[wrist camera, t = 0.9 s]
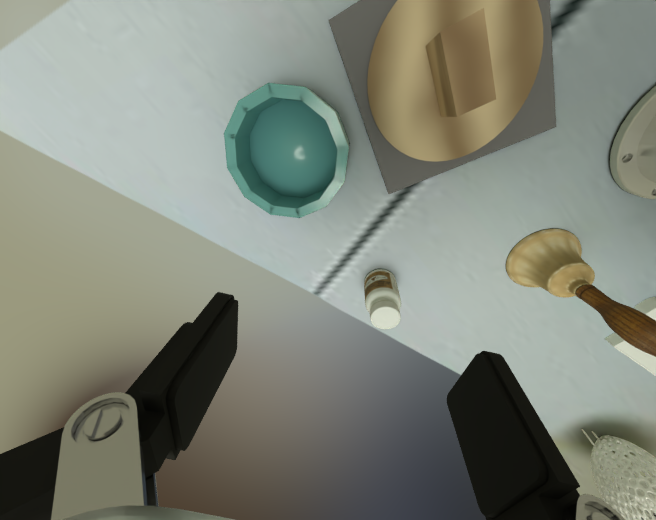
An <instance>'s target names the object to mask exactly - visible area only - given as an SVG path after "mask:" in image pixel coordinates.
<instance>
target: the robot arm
mask: <svg viewBox="0 0 656 520" xmlns="http://www.w3.org/2000/svg"><path fill="white" fill-rule="evenodd" d="M610 167H611V174H612V176H613V178H614V180H615V182H616V183H617V184H618V185H619V186H620V187H621V188H622V189H623V190H625V191H627V192H628V193H630V194H634V195H637V196H640V197H644V198H649V199H656V86H655V87H654V88H652V89H651V90H650V91H649V92H648V93H647V94H646V95H645V96H644V97H643V98H642V99H641V100H640V101H639V102H638V103H637V105H636V106H635V107H634V108H633V109H632V110H631V112H630V113H629V115H628V116H627V118H626V119H625V120H624V122H623V123H622V125H621V127H620V129H619V131H618V133H617V135H616V137H615V139H614V143H613V146H612V149H611V156H610ZM237 325H238V301H237V300H234V296H233V295H229V294H225V293H220V292H218V293H216V294H215V296H214V297H213V298H212V299H211V301H210V302H209V303H208V305H207V306H206V307H205V308H204V309H203V311H202V312H201V313H200V314H199V316H198V317H197V318H196V320H195V321H194V322H193V323H190V322H187V323H185V324H183V325H182V326H181V327H180V328H179V330H178V331H177V332H176V333H175V334H174V336H173V337H172V338H171V339H170V340H169V342H168V343H167V344H166V345H165V346H164V348H163V349H162V350H161V351H160V352H159V353H158V355H157V356H156V357H155V358H154V359H153V361H152V362H151V363H150V364H149V365H148V367H147V368H146V369H145V370H144V371H143V373H142V374H141V375H140V376H139V377H138V379H137V380H136V381H135V382H134V383H133V385H132V386H131V387H130V388H129V389H128V391H127V392H126V393H110V394H105V395H101V396H99V397H97V398H95V399H92V400H91V401H89V402H88V403H86V404H84V405H83V406H82V407H80V408H79V409H78V410H77V411H76V412H75V413H74V414H73V415H72V416H71V417H70V419H69V420H68V422H67V423H66V425H65V427H64V428H61V429H59V430H57V431H54V432H52V433H49V434H47V435H45V436H42V437H40V438H37V439H35V440H33V441H30V442H28V443H26V444H23V445H21V446H18V447H16V448H14V449H11V450H9V451H7V452H4V453H2V454H0V520H234V519H229V518H223V517H218V516H212V515H208V514H202V513H197V512H191V511H186V510H181V509H172V508H165V507H159V506H158V497H157V487H156V478H155V473H156V472H157V471H159V469H160V467H161V466H162V464H163V462H164V460H165V459H166V458H167V459H172V460H176V458H177V456H178V454H179V452H180V450H183V451H185V450H186V449H187V447H188V446H189V444H190V442H191V440H192V438H193V436H194V435H195V433H196V431H197V429H198V427H199V425H200V423H201V421H202V419H203V417H204V415H205V413H206V411H207V409H208V407H209V405H210V403H211V401H212V399H213V397H214V396H215V393H216V392H217V389H218V388H219V386H220V384H221V382H222V380H223V378H224V376H225V374H226V372H227V370H228V368H229V366H230V364H231V362H232V360H233V359H234V356H235V354H236V350H237ZM447 405H448V408H449V411H450V414H451V418H452V421H453V424H454V427H455V431H456V434H457V437H458V440H459V444H460V447H461V450H462V453H463V457H464V460H465V463H466V466H467V470H468V473H469V476H470V480H471V483H472V486H473V490H474V493H475V496H476V499H477V503H478V505H479V508H480V511H481V512H482V514H484V515H485V517H486V520H625V519H624V518H623V516H622V515H621V514H619V513H618V512H617V511H616V510H615V509H614V508H613V507H612V506H610V505H609V504H607V503H606V502H604V501H603V500H602V499H600V498H598V497H595V496H593V495H589V494H583V495H581V496H580V495H579V493H578V491H577V490H576V489H577V488H578V487H580V485H579V483H578V482H577V480H576V478H575V477H574V475H573V473H572V472H571V470H570V468H569V467H568V465H567V463H566V462H565V460H564V458H563V457H562V455H561V453H560V452H559V450H558V448H557V447H556V445H555V443H554V442H553V440H552V438H551V436H550V435H549V433H548V431H547V430H546V428H545V426H544V425H543V423H542V421H541V420H540V418H539V416H538V415H537V413H536V411H535V410H534V408H533V406H532V405H531V403H530V401H529V400H528V398H527V396H526V395H525V393H524V391H523V390H522V388H521V386H520V384H519V383H518V381H517V379H516V378H515V376H514V374H513V373H512V371H511V369H510V368H509V366H508V364H507V363H506V361H505V359H504V358H503V357H502V355H500V354H496V353H492V352H487V351H482V352H481V353H480V354H477V355H476V356H475V357H474V358H473V360H472V361H471V363H470V364H469V365H468V367H467V368H466V370H465V371H464V372H463V374H462V375H461V377H460V378H459V379H458V381H457V382H456V384H455V385H454V386H453V388H452V389H451V390H450V392H449V393H448V395H447Z"/></svg>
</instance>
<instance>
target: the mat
mask: <svg viewBox="0 0 656 520" xmlns="http://www.w3.org/2000/svg"><path fill="white" fill-rule="evenodd" d="M396 1H397V0H360V1H358V2H357V3H355V4H354V5H352V6H350V7H349V8H347V9H346V10H344V11H343V12H341V13H339V14H338V15H336V16H335V17H333V18H331V19H330V20H329V23H330V26H331V29H332V31H333V34H334V37H335V40H336V43H337V46H338V49H339V52H340V55H341V58H342V60H343V63H344V66H345V69H346V72H347V75H348V78H349V81H350V84H351V86H352V89H353V92H354V95H355V98H356V101H357V104H358V107H359V110H360V113H361V115H362V118H363V121H364V124H365V127H366V130H367V133H368V136H369V139H370V142H371V144H372V147H373V150H374V153H375V156H376V159H377V162H378V165H379V168H380V171H381V173H382V176H383V179H384V182H385V185H386V188H387V191H388V194H391V193H393V192H396V191H398V190H401V189H403V188H405V187H408V186H410V185H413V184H415V183H418V182H420V181H423V180H425V179H428V178H430V177H433V176H435V175H438V174H440V173H443V172H445V171H448V170H450V169H453V168H455V167H458V166H460V165H463V164H465V163H467V162H470V161H472V160H475V159H477V158H480V157H482V156H485V155H487V154H490V153H492V152H495V151H497V150H500V149H502V148H505V147H507V146H510V145H512V144H515V143H517V142H520V141H522V140H525V139H527V138H530V137H532V136H534V135H537V134H539V133H542V132H544V131H547V130H549V129H552V128H554V127H556V115H555V95H554V76H553V56H552V36H551V16H550V0H537V1H538V4H539V8H540V11H541V15H542V22H543V49H542V57H541V61H540V65H539V70H538V73H537V76H536V79H535V81H534V84H533V86H532V88H531V91H530V93H529V95H528V97H527V99H526V100H525V102H524V104H523V105H522V107H521V109H520V110H519V111H518V113H517V114H516V116H515V117H514V118H513V120H512V121H511V122H510V123H509V124H508V125H507V126H506V128H505V129H504V130H503V131H502V132H500V133H499V134H498V135H497V136H496V137H495V138H494V139H492V140H491V141H490V142H489V143H487V144H486V145H484V146H483V147H481V148H479V149H478V150H476V151H474V152H472V153H470V154H468V155H465V156H462V157H460V158H457V159H452V160H448V161H438V162H434V161H424V160H418V159H415V158H412V157H409V156H407V155H406V154H404V153H402V152H400V151H399V150H397V149H396V148H395V147H393V146H392V145H391V144H390V143H389V142H388V141H387V140H386V139H385V137H384V136H383V135H382V133H381V132H380V130H379V128H378V127H377V125H376V123H375V120H374V118H373V115H372V112H371V108H370V105H369V98H368V86H367V79H368V68H369V62H370V57H371V53H372V50H373V46H374V43H375V40H376V37H377V35H378V33H379V30H380V28H381V26H382V24H383V22H384V20H385V18H386V17H387V15H388V13H389V12H390V10H391V9H392V7H393V6H394V4H395V3H396Z"/></svg>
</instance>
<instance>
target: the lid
mask: <svg viewBox="0 0 656 520" xmlns="http://www.w3.org/2000/svg"><path fill="white" fill-rule="evenodd" d="M542 49H543V22H542V15H541V11H540V8H539V4H538V1H537V0H397V1H396V3H395V4H394V6H393V7H392V9H391V10H390V12H389V13H388V15H387V17H386V18H385V20H384V22H383V24H382V26H381V28H380V30H379V33H378V35H377V37H376V40H375V43H374V46H373V50H372V53H371V57H370V62H369V68H368V79H367V86H368V98H369V105H370V108H371V112H372V115H373V118H374V120H375V123H376V125H377V127H378V128H379V130H380V132H381V133H382V135H383V136H384V137H385V139H386V140H387V141H388V142H389V143H390V144H391V145H392V146H393V147H395V148H396V149H397V150H399V151H400V152H402V153H404V154H406V155H407V156H409V157H412V158H415V159H418V160H424V161H434V162H438V161H448V160H452V159H457V158H460V157H462V156H465V155H468V154H470V153H472V152H474V151H476V150H478V149H479V148H481V147H483V146H484V145H486V144H487V143H489V142H490V141H491V140H492V139H494V138H495V137H496V136H497V135H498V134H499V133H500V132H502V131H503V130H504V129H505V128H506V126H507V125H508V124H509V123H510V122H511V121H512V120H513V118H514V117H515V116H516V114H517V113H518V111H519V110H520V109H521V107H522V105H523V104H524V102H525V100H526V99H527V97H528V95H529V93H530V91H531V88H532V86H533V84H534V81H535V79H536V76H537V73H538V70H539V65H540V61H541V57H542Z"/></svg>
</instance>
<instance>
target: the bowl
mask: <svg viewBox="0 0 656 520" xmlns="http://www.w3.org/2000/svg"><path fill="white" fill-rule="evenodd" d="M224 138H225V149H226V160H227V168H228V170H229V172H230V173H231V175H232V177H233V178H234V180H235V182H236V184H237V185H238V187H239V189H240V190H241V192H242V194H243V195H244V197H245V198H247V199H248V200H250V201H251V202H253V203H254V204H256V205H257V206H259V207H260V208H262V209H263V210H265V211H266V212H268V213H269V214H271V215H279V216H287V217H295V218H300V217H303V216H305V215H308V214H310V213H312V212H315V211H317V210H320V209H322V208H324V207H326V206H327V205H328V203H329V202H330V201H331V199H332V198H333V197H334V195H335V194H336V193H337V191H338V190H339V189H340V187H341V186H342V185H343V183H344V182H345V175H346V167H347V159H348V151H349V144H350V143H349V140H348V138H347V135H346V132H345V130H344V127H343V124H342V122H341V119H340V117H339V114H338V112H337V111H336V110H335V109H333V108H332V107H331V106H330V105H329V104H327V103H326V102H325V101H324V100H323V99H321V98H320V97H319V96H318V95H317V94H315V93H314V92H313V91H312V90H310V89H308V88H306V87H302V86H293V85H284V84H274V83H267V84H266V85H264V86H262V87H261V88H259V89H257V90H256V91H254V92H252V93H251V94H249V95H248V96H246V97H244V98H243V99H241V100H239V101H238V103H237V105H236V107H235V110H234V112H233V114H232V116H231V119H230V121H229V123H228V125H227V128H226V130H225V132H224Z"/></svg>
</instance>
